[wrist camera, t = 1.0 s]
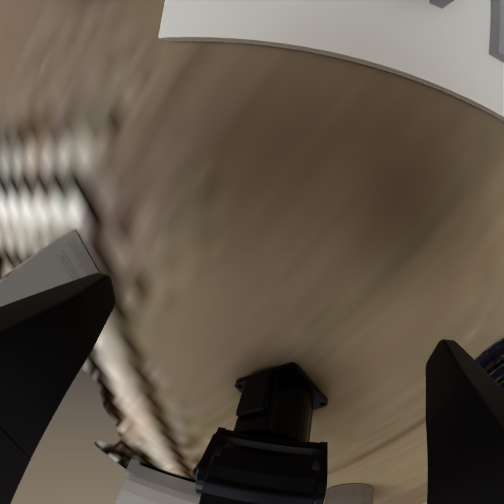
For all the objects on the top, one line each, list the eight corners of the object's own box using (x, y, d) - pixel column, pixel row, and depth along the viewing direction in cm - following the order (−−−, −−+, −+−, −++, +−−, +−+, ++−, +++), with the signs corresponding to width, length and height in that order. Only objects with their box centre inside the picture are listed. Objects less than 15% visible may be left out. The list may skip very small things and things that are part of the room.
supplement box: (76, 226, 23) (-36, 311, 12) (117, 299, 25) (31, 401, 14) (37, 249, 25) (-51, 320, 14) (74, 309, 28) (0, 391, 17)
